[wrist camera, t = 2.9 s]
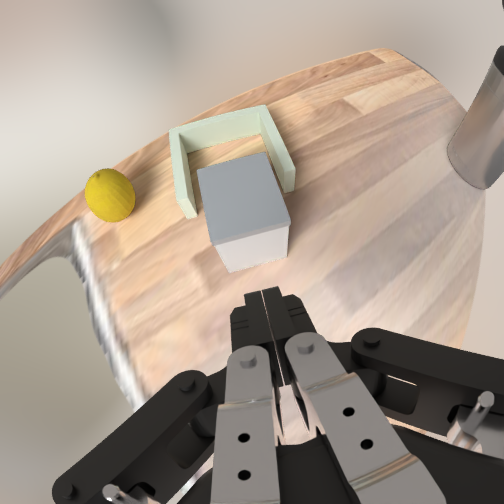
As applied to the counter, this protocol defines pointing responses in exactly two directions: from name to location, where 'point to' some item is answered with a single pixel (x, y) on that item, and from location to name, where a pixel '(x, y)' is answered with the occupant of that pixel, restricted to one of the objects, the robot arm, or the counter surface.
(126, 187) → the lemon
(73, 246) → the counter surface
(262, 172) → the lidded grey box
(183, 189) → the bay
